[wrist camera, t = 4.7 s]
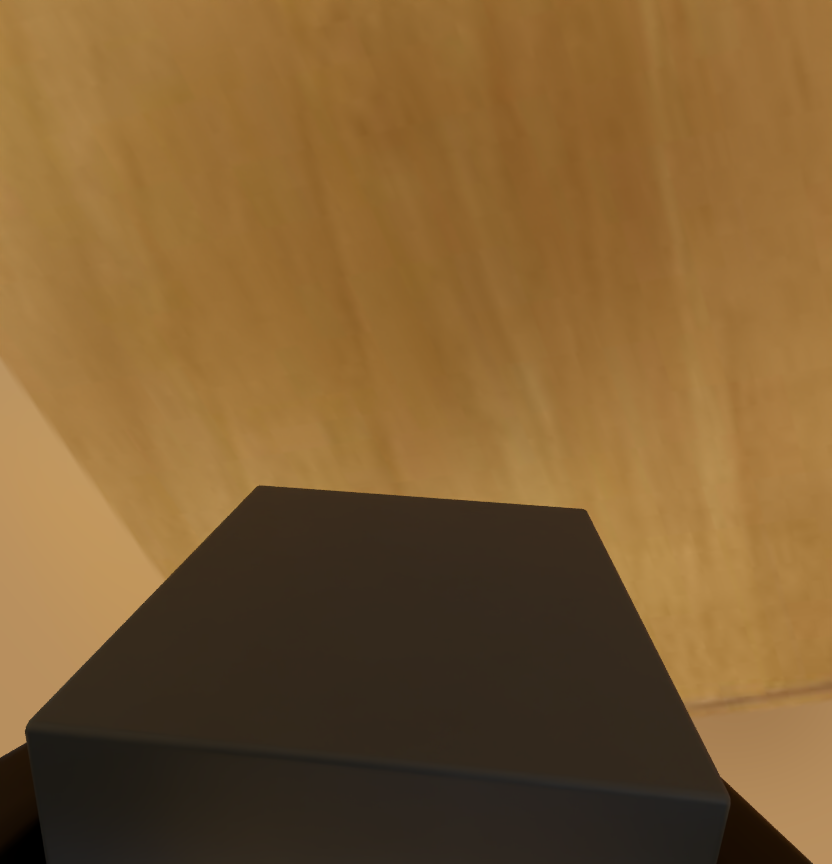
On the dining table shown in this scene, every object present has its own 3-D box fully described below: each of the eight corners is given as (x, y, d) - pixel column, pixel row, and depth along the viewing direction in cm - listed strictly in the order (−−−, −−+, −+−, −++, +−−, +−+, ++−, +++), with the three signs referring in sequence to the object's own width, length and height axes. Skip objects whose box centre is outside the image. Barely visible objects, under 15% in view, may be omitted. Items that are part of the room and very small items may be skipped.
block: (551, 778, 10) (629, 1246, 5) (264, 749, 10) (91, 1161, 6) (586, 507, 9) (736, 800, 4) (256, 483, 9) (18, 725, 4)
